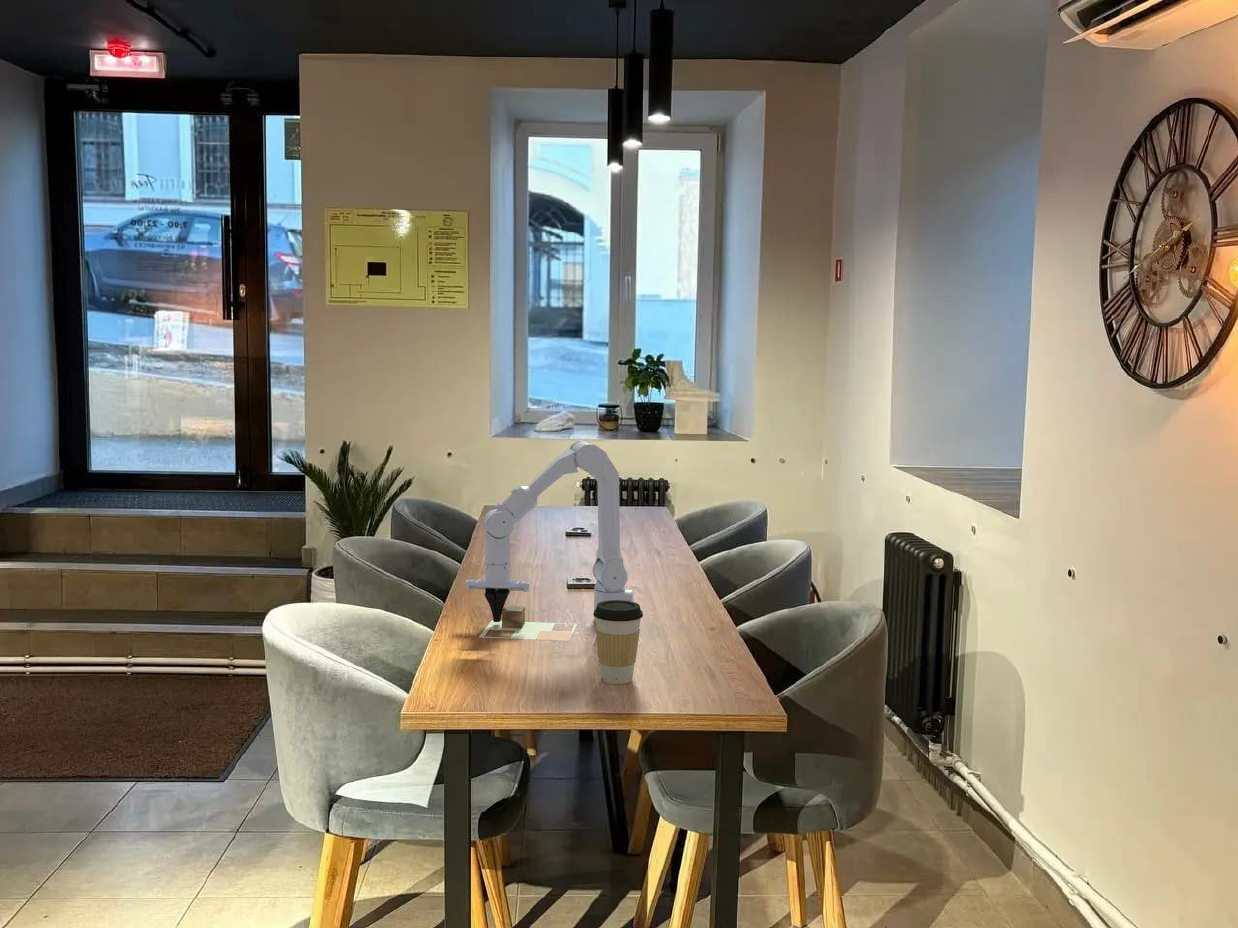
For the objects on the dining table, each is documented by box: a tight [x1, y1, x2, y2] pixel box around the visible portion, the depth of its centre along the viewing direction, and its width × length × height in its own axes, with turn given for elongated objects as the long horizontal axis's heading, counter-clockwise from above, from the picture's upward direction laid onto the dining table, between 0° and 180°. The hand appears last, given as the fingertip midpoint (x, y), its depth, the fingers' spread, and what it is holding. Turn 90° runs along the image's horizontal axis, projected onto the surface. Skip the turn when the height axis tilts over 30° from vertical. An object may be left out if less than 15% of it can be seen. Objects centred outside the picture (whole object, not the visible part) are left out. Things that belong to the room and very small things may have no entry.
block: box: [501, 605, 526, 629], centre depth 242 cm, size 4×4×4 cm
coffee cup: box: [593, 600, 644, 685], centre depth 209 cm, size 10×10×15 cm
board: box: [478, 620, 578, 642], centre depth 238 cm, size 20×14×2 cm
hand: (497, 620), depth 242 cm, fingers closed
